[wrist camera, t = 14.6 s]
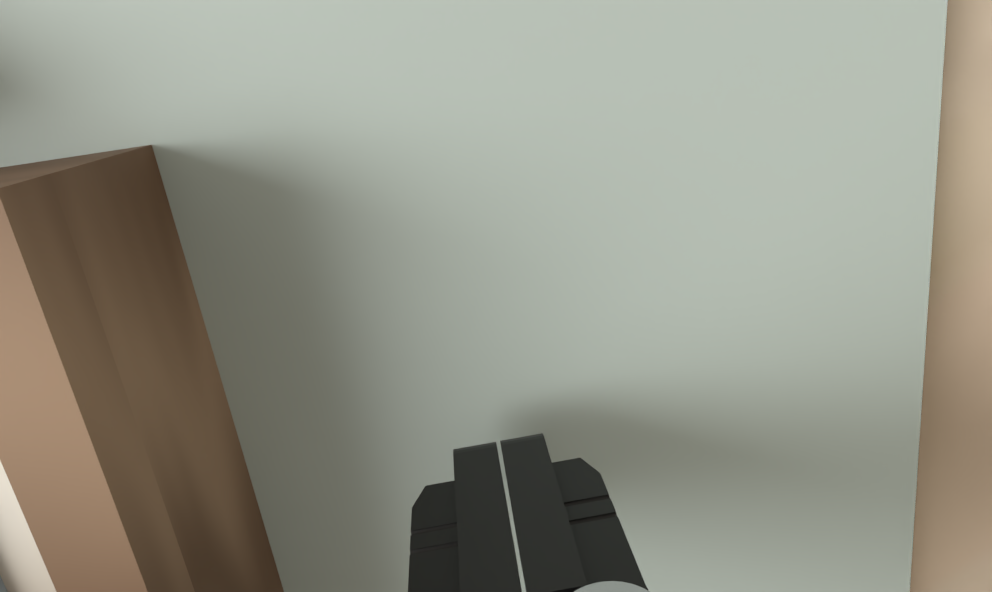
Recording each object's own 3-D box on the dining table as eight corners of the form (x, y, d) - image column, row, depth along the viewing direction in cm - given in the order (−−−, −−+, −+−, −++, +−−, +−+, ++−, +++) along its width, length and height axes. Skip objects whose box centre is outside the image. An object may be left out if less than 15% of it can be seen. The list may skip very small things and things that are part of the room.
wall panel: (869, 797, 18) (986, 991, 14) (86, 951, 17) (-11, 1200, 13) (923, -352, 10) (1208, -594, 7) (-494, -172, 10) (-1106, -329, 6)
